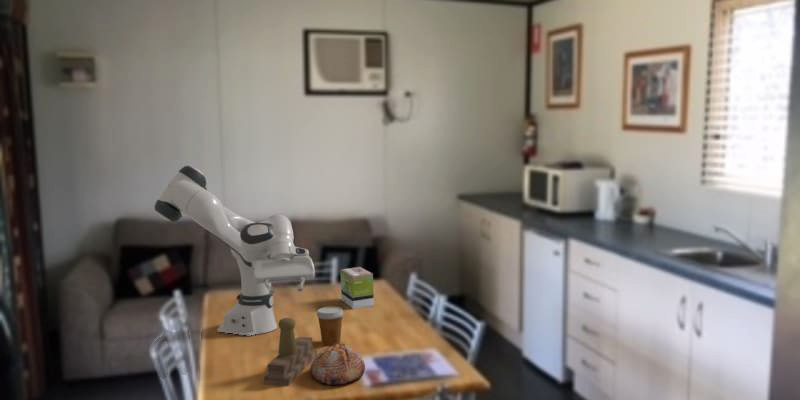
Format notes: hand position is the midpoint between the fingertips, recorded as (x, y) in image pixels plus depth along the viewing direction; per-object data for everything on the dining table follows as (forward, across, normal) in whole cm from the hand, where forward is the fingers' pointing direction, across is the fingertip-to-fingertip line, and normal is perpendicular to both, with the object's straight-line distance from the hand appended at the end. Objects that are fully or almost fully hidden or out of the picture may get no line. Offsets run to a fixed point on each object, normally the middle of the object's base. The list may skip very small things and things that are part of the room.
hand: (286, 291), depth 211 cm
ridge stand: (+22, 0, +10) cm, 25 cm away
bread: (+29, +14, +4) cm, 33 cm away
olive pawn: (+19, -1, +5) cm, 20 cm away
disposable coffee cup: (+8, +16, +26) cm, 31 cm away
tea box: (-26, +35, +59) cm, 74 cm away
